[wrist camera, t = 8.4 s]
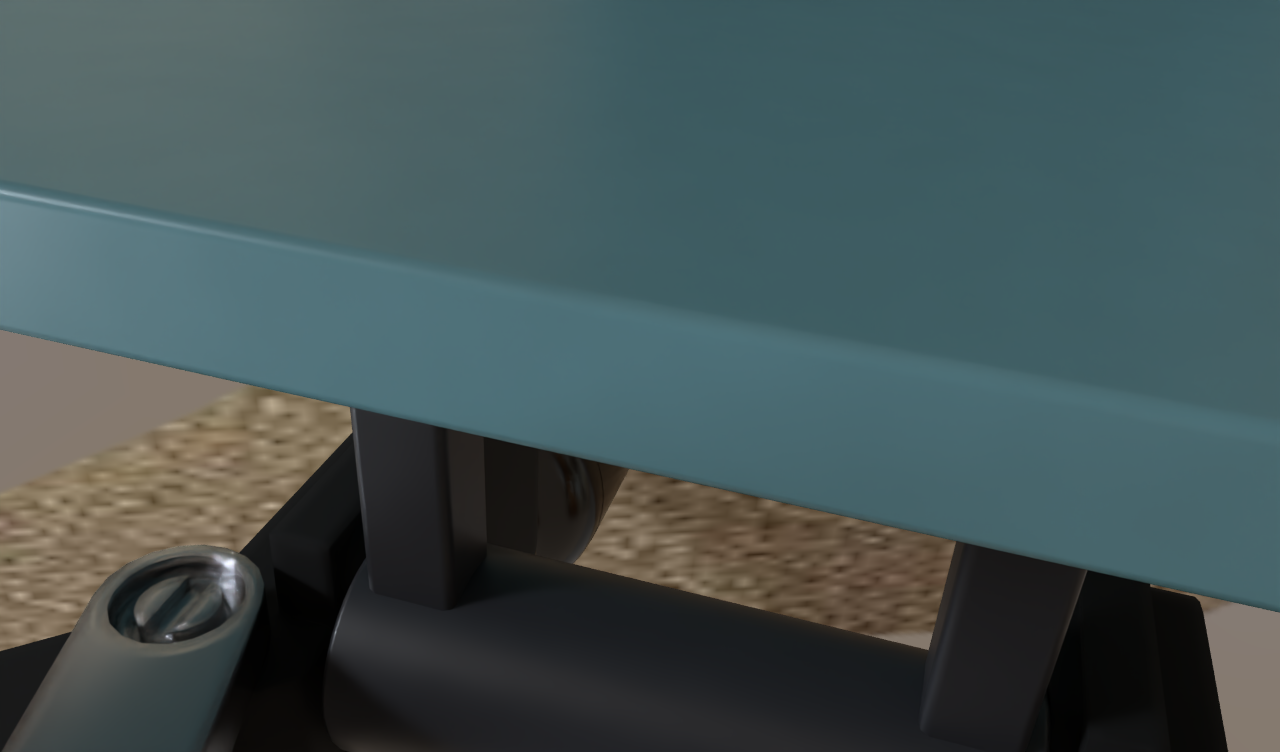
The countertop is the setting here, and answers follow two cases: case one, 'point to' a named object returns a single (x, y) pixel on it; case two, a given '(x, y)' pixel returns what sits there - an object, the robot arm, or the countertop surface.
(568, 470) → the supplement bottle
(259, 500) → the countertop surface
